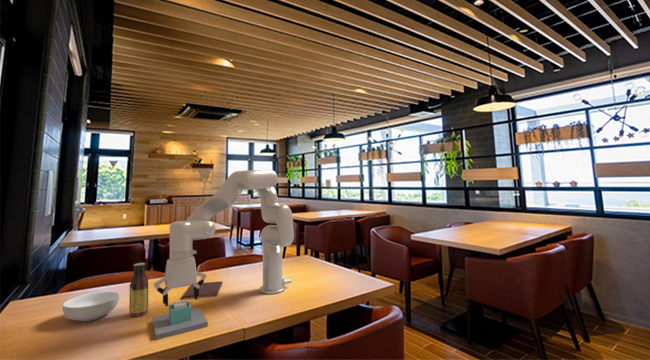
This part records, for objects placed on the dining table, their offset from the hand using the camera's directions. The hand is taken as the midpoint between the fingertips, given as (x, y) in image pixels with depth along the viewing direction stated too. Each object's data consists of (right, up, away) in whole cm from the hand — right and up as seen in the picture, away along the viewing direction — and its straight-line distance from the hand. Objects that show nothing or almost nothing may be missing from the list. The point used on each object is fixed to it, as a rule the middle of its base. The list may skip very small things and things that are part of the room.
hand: (181, 301), depth 103 cm
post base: (0, -8, -1) cm, 8 cm away
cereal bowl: (-38, -9, +6) cm, 39 cm away
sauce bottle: (-21, -9, +8) cm, 24 cm away
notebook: (-7, -10, +35) cm, 37 cm away
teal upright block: (0, -6, -1) cm, 6 cm away
